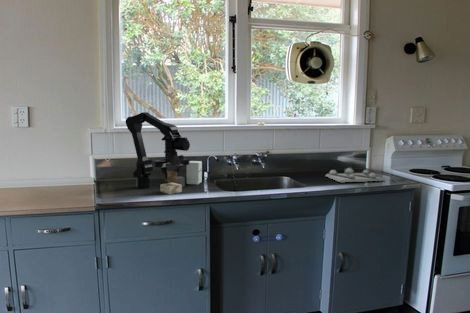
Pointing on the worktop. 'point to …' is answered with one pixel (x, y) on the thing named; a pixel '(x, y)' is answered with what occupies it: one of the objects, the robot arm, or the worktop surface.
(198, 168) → the supplement box
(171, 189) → the birch block
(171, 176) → the walnut cube
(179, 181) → the gray cube
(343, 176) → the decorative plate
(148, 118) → the robot arm
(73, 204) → the worktop surface
